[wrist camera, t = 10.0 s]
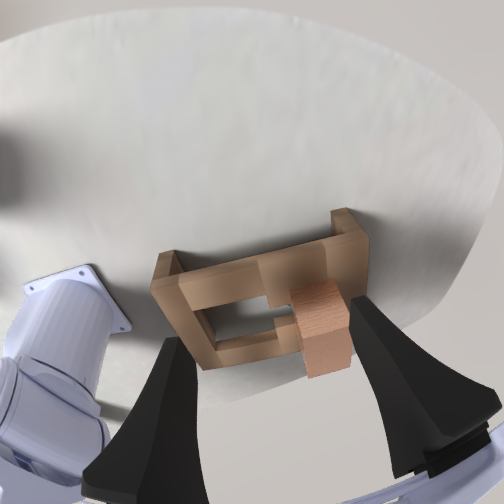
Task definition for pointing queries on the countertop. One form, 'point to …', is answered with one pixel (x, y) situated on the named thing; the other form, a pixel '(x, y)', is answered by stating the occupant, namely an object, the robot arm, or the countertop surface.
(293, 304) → the peg
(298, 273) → the keyhole plate
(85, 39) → the countertop surface
